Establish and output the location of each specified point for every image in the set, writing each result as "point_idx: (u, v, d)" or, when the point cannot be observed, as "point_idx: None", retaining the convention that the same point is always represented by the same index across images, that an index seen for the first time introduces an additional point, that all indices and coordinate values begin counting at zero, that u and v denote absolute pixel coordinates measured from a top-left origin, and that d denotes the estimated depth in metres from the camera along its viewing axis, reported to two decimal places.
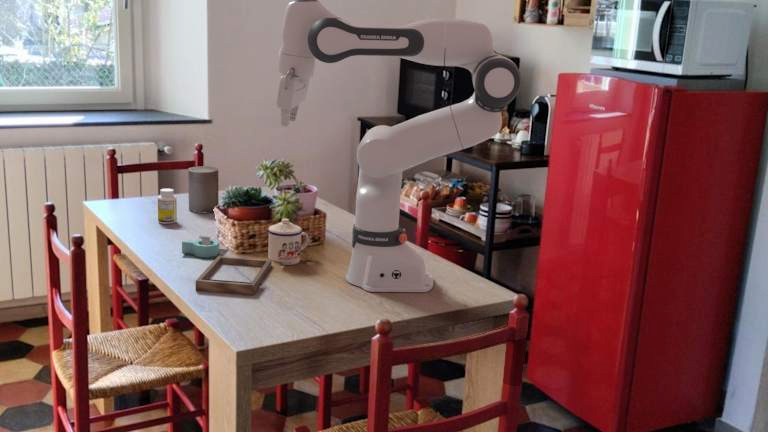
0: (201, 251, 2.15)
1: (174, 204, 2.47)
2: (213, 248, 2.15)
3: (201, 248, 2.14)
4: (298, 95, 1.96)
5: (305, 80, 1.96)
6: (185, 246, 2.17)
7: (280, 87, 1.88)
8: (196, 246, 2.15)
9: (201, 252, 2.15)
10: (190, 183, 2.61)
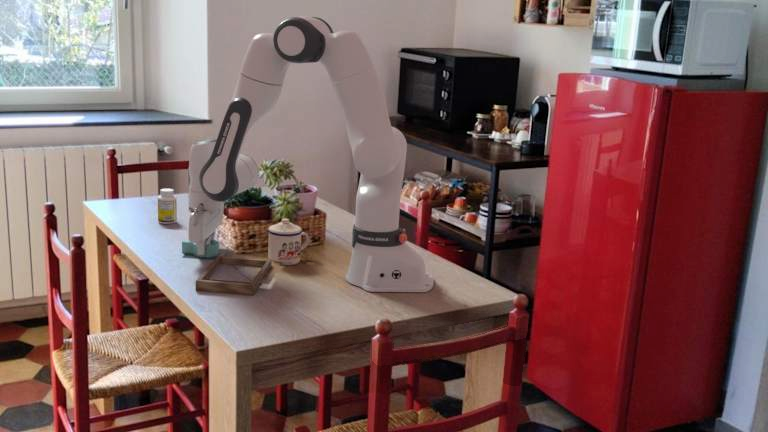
0: None
1: (174, 204, 2.47)
2: (213, 248, 2.15)
3: None
4: (211, 225, 2.15)
5: (215, 211, 2.14)
6: (185, 246, 2.17)
7: (190, 224, 2.06)
8: (196, 246, 2.15)
9: None
10: None
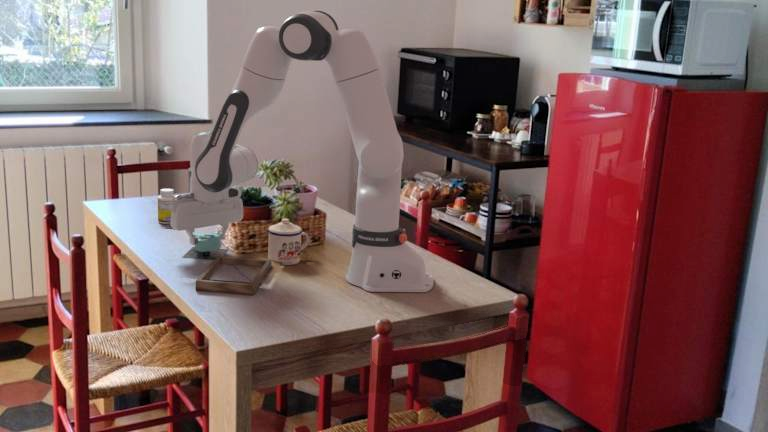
0: (197, 245, 2.16)
1: None
2: (206, 243, 2.14)
3: None
4: (206, 217, 2.14)
5: (209, 204, 2.12)
6: None
7: None
8: None
9: (197, 246, 2.16)
10: None
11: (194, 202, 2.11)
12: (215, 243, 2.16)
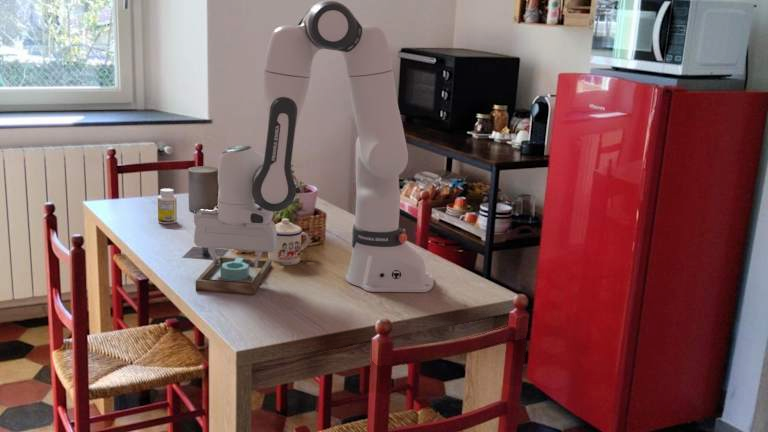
0: None
1: (174, 204, 2.47)
2: (224, 271, 1.99)
3: None
4: (228, 239, 1.98)
5: (228, 225, 1.96)
6: None
7: None
8: None
9: None
10: (190, 183, 2.61)
11: (214, 220, 1.97)
12: (233, 274, 1.99)
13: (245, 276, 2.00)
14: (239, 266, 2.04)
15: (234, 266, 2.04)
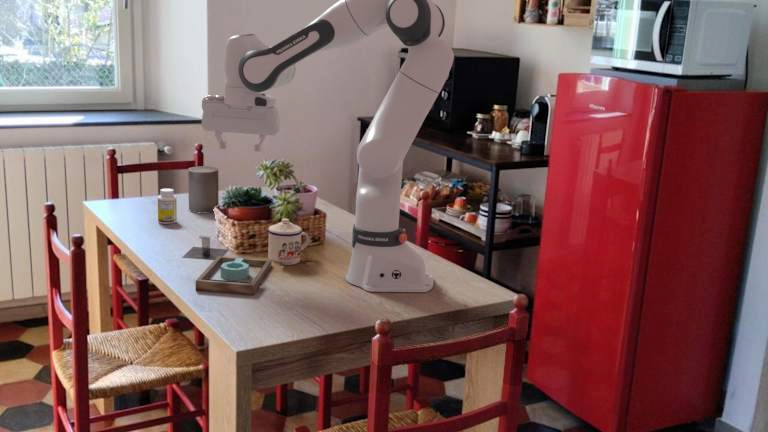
0: None
1: (174, 204, 2.47)
2: (224, 271, 1.99)
3: None
4: (233, 122, 2.11)
5: (234, 108, 2.09)
6: None
7: None
8: None
9: None
10: (190, 183, 2.61)
11: (221, 104, 2.10)
12: (233, 274, 1.99)
13: (245, 276, 2.00)
14: (239, 266, 2.04)
15: (234, 266, 2.04)
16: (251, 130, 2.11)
